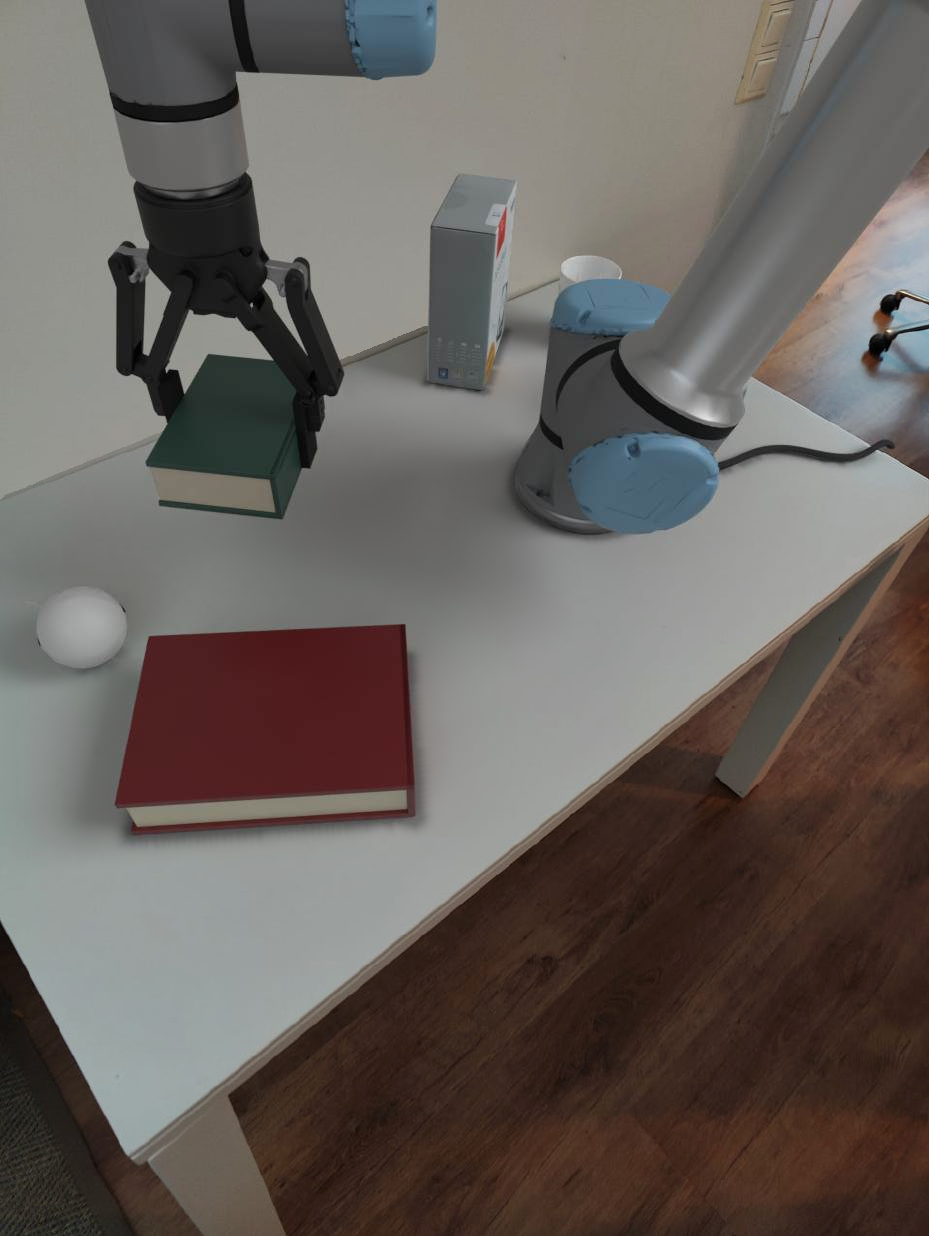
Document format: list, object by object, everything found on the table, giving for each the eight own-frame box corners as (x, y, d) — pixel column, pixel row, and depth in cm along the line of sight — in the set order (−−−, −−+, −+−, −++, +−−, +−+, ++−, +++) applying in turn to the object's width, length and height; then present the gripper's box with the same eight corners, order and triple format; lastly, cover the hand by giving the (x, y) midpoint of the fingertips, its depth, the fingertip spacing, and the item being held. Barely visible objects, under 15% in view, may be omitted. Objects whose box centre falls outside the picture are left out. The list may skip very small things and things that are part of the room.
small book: (325, 408, 75) (320, 364, 71) (282, 519, 65) (275, 475, 61) (217, 397, 75) (207, 353, 72) (159, 506, 65) (144, 461, 62)
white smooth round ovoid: (154, 645, 76) (133, 592, 70) (88, 699, 72) (59, 646, 66) (84, 597, 79) (58, 542, 74) (17, 645, 75) (-16, 591, 70)
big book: (406, 658, 76) (405, 623, 72) (415, 816, 66) (415, 785, 62) (162, 670, 74) (148, 635, 70) (132, 835, 64) (114, 805, 60)
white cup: (548, 352, 110) (557, 280, 103) (554, 322, 115) (563, 252, 108) (607, 359, 110) (620, 288, 102) (610, 328, 115) (623, 258, 107)
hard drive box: (485, 393, 104) (495, 234, 89) (426, 384, 105) (426, 226, 89) (505, 329, 114) (518, 177, 99) (451, 322, 114) (455, 170, 99)
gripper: (375, 167, 55) (386, 438, 72) (47, 137, 56) (134, 412, 73) (352, 216, 50) (370, 494, 67) (-7, 183, 51) (100, 465, 68)
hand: (247, 451), depth 70 cm, fingers closed on small book, 10 cm apart
